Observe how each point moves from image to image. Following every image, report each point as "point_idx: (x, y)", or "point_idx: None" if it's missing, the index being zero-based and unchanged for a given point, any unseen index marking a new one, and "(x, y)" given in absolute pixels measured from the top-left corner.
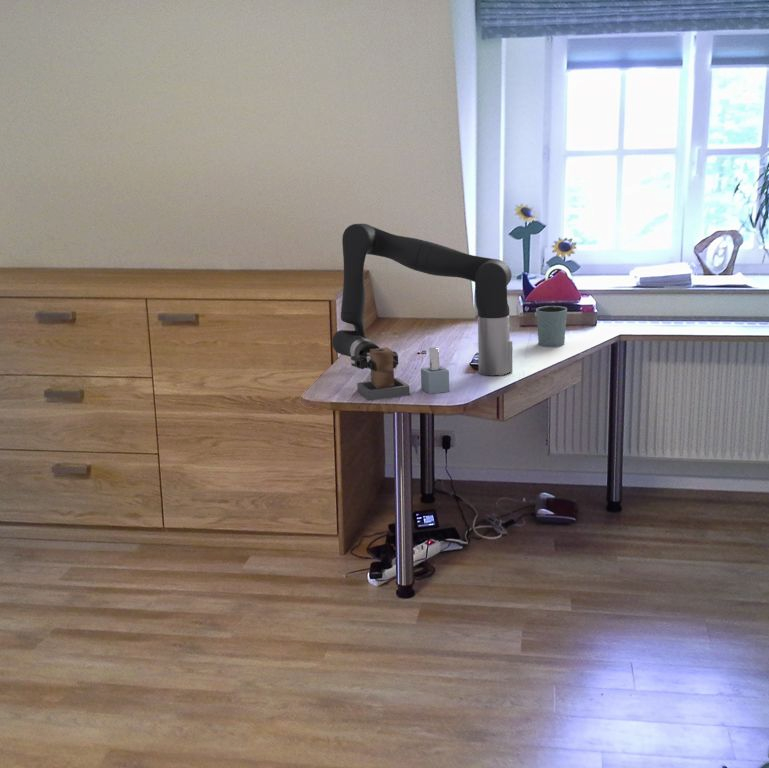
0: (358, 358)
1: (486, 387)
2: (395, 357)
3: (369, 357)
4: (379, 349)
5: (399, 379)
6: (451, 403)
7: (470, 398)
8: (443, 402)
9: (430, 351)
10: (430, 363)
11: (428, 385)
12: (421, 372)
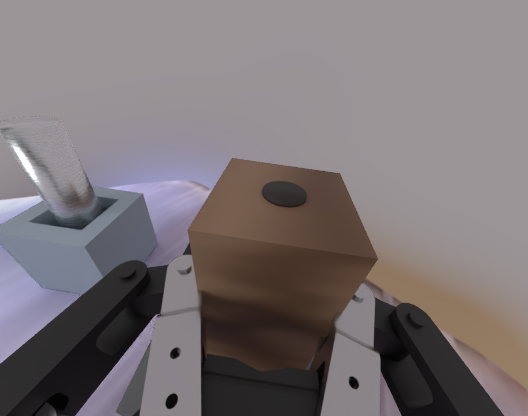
0: (469, 405)
1: (7, 213)
2: (146, 269)
3: (349, 336)
4: (294, 201)
5: (144, 357)
6: (184, 186)
7: (132, 187)
8: (189, 194)
9: (64, 134)
10: (86, 188)
11: (150, 228)
12: (98, 251)
